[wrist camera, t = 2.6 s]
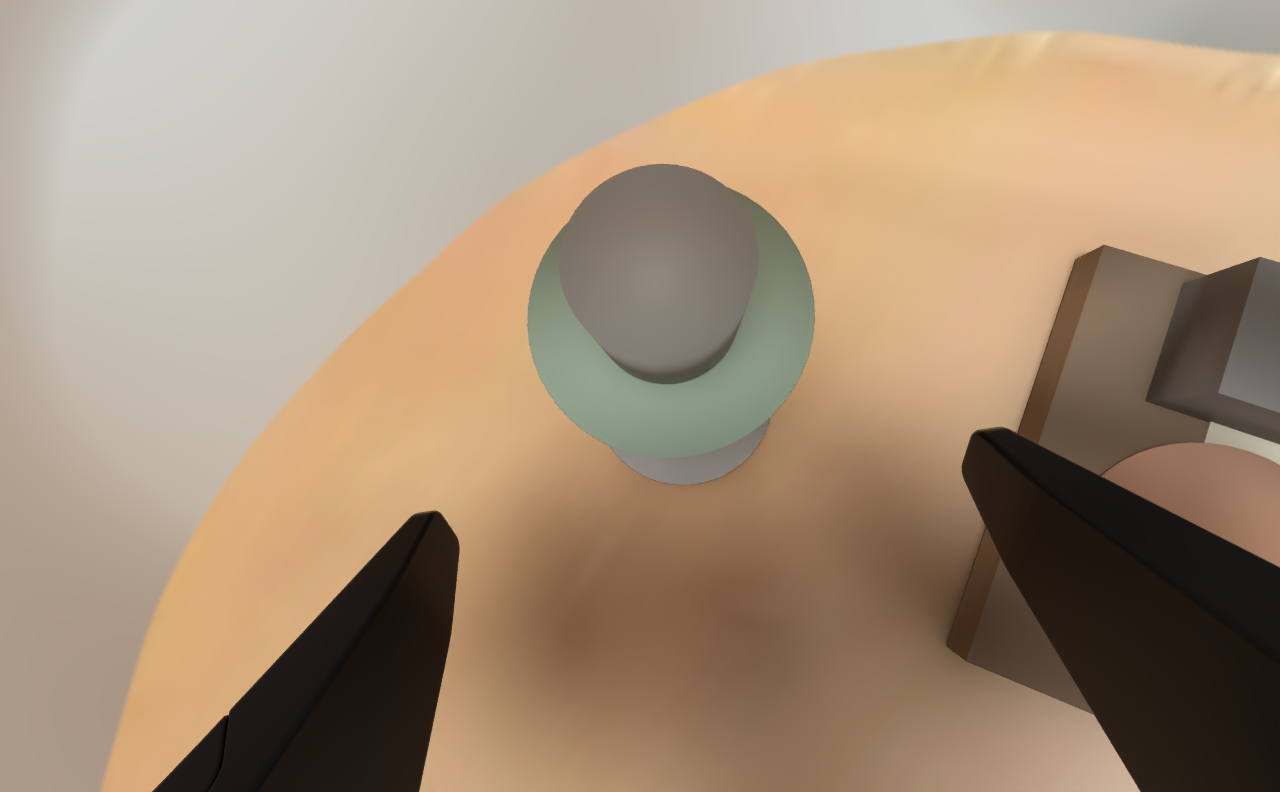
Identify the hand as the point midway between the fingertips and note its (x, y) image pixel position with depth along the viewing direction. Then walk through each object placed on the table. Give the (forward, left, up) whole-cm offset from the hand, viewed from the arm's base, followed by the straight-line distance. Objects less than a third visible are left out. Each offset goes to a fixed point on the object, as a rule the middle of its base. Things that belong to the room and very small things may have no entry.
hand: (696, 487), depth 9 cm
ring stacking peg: (+3, 0, -10) cm, 10 cm away
